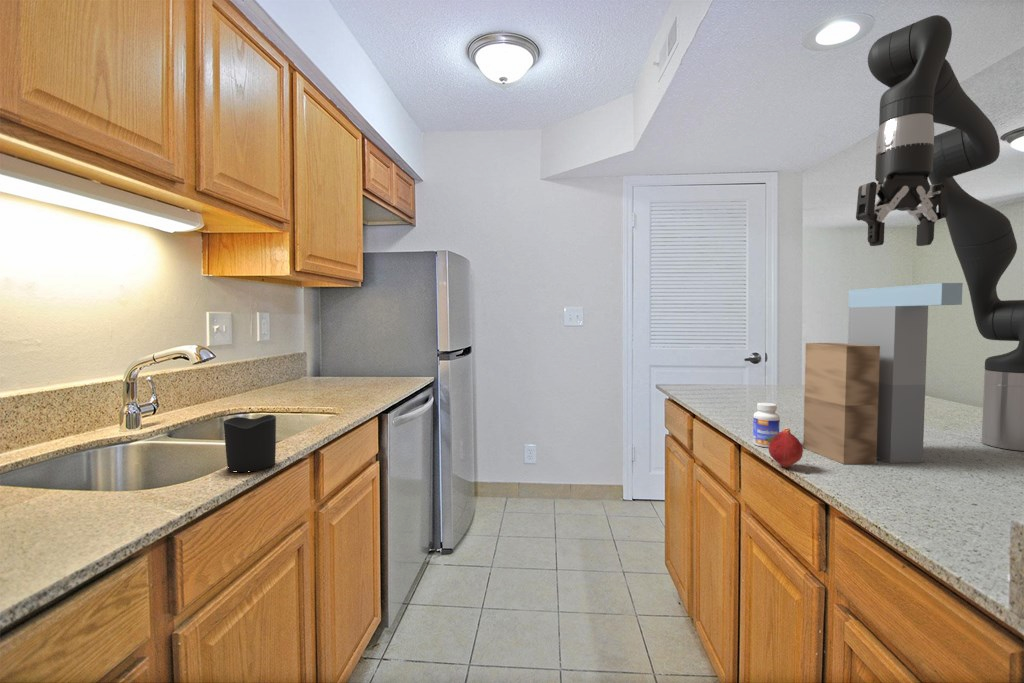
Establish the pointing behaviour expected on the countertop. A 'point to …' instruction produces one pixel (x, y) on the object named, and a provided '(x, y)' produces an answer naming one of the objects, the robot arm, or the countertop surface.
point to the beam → (908, 295)
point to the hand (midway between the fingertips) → (900, 245)
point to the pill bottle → (765, 424)
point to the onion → (785, 448)
